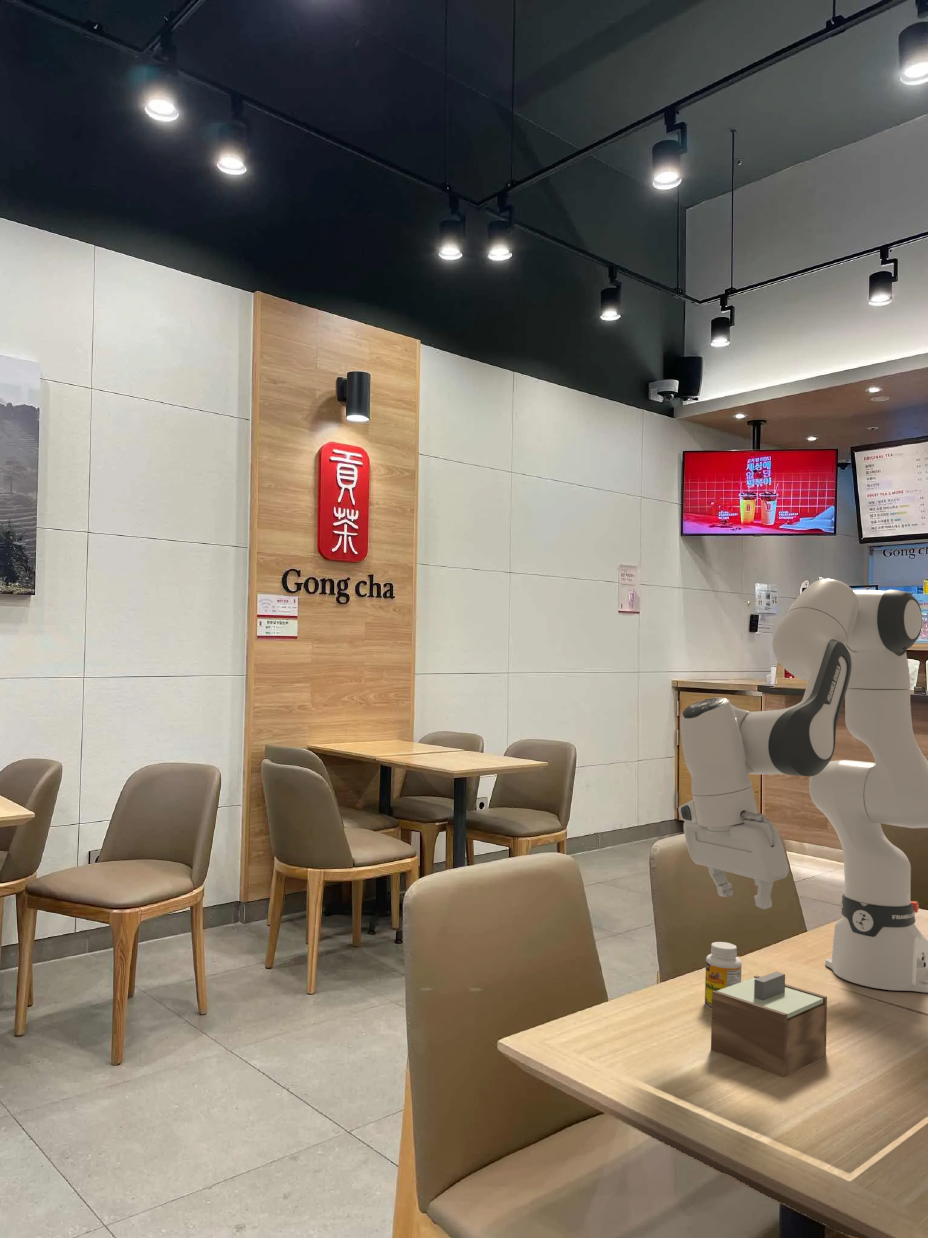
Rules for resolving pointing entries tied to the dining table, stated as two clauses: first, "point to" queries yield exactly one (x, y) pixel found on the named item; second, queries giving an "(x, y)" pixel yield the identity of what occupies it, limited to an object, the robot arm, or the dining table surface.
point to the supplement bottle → (721, 969)
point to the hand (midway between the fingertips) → (744, 901)
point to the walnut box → (768, 1033)
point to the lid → (773, 994)
